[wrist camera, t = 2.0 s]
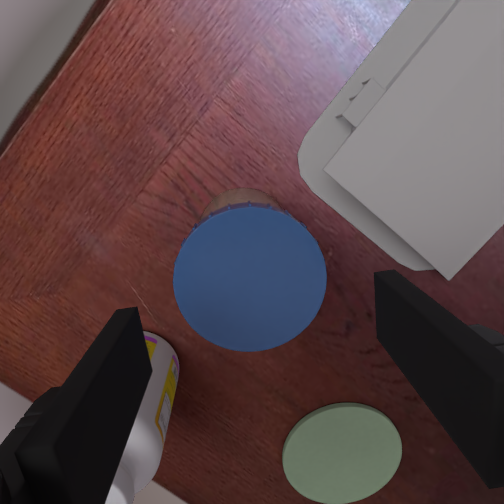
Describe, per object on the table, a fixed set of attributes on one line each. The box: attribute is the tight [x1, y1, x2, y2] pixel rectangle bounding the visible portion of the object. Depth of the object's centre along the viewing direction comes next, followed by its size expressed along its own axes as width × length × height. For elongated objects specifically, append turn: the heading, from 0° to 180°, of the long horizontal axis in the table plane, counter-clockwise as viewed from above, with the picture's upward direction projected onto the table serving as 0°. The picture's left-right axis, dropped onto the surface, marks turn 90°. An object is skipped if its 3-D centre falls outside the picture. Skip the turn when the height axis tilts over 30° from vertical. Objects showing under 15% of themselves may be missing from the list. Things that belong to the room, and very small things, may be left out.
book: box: [297, 0, 504, 281], centre depth 24 cm, size 15×23×4 cm, turn 142°
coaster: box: [282, 403, 402, 504], centre depth 34 cm, size 11×11×1 cm
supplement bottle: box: [105, 331, 179, 504], centre depth 24 cm, size 7×7×13 cm
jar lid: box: [173, 201, 327, 352], centre depth 18 cm, size 8×8×2 cm
